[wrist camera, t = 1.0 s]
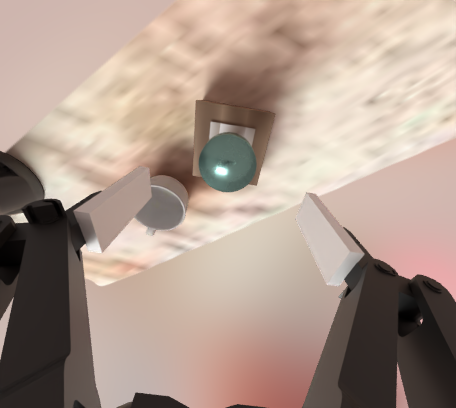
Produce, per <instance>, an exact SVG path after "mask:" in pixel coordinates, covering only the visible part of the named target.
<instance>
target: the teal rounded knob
mask: <svg viewBox="0 0 456 408" xmlns="http://www.w3.org/2000/svg"><path fill="white" fill-rule="evenodd" d="M256 167H257V162H256V156H255V153H254V150H253V148H252V146H251V144H250V143H249V142H248V140H247V139H245V138H244V137H243V136H241V135H239V134H237V133H233V132H223V133H220V134H217V135H215V136H213V137H212V138H211V139H210V140H209V141H208V142H207V143H206V145H205V146H204V148H203V149H202V151H201V153H200V156H199V171H200V174H201V176H202V178H203V179H204V181H205V182H206V183H207V184H208V185H209V186H210V187H212V188H214V189H216V190H218V191H222V192H234V191H238V190H240V189H242V188H244V187H245V186H247V185H248V184H249V183H250V182H251V180H252V179H253V177H254V175H255V172H256Z"/></svg>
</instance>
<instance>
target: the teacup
mask: <svg viewBox="0 0 456 408" xmlns="http://www.w3.org/2000/svg"><path fill="white" fill-rule="evenodd" d="M150 182H151V193H152V197H151V198H150V200H149V201H148V202H147V203H146V204H145V205H144V206H143V207H142V209H141V210H140V211H139V212H138V213H137V214H136V215H135V216H134V218H135V219H136V220H137V221H138V222H140V223H141V224H142V225H144V226H146V227H148V229H147V231H146V234H147V235H149V236H153V235H154V233H155V231H156V230H161V231H167V230H172V229H174V228H176V227H178V226H179V225H180V224H181V223H182V222H183V220H184V218H185V214H186V210H187V206H188V193H187V191H186V189H185V187H184V186H183V185H182V184H181V183H180V182H179V181H178V180H176V179H175V178H172V177H170V176H165V175H158V176H154V177H151V178H150Z"/></svg>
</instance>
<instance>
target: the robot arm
mask: <svg viewBox="0 0 456 408" xmlns="http://www.w3.org/2000/svg"><path fill="white" fill-rule="evenodd" d="M151 197H152V193H151V182H150V171H149V167H143V166H139V167H138V168H136V169H135V170H133V171H132V172H130V173H129V174H127V175H126V176H124V177H123V178H121V179H120V180H118V181H117V182H115V183H114V184H112V185H111V186H109V187H108V188H106V189H105V190H103V191H98V192H96V193H93V194H91V195H89V196H88V197H86V198H85V199H83V200H82V201H80V202H78V203H77V204H75V205H74V206H72V207H71V208H69V209H68V210H66V211H65V210H64V208H63V205H62V203H61V201H60V200H57V199H44V192H43V188H42V186H41V184H40V182H39V180H38V179H37V178H36V176H35V175H34V174H33V173H32V172H31V171H30V170H29V169H28V168H27V167H26V166H25V165H24V164H22V163H21V162H20V161H18V160H17V159H15V158H14V157H12V156H10V155H8V154H6V153H4V152H1V151H0V320H1V318H2V316H3V314H4V313H5V311H6V309H7V307H8V306H9V304H10V302H11V300H12V299H13V297H14V299H13V304H12V308H11V313H10V318H9V322H8V327H7V332H6V337H5V341H4V346H3V350H2V355H1V360H0V408H101V404H100V399H99V395H98V391H97V388H96V384H95V376H94V367H93V356H92V347H91V338H90V328H89V318H88V309H87V298H86V289H85V280H84V269H83V260H82V252H81V250H80V248H81V247H82V246H83V245H84V244H86V246H87V249H88V251H91V252H99V253H102V252H103V251H104V250H105V249H106V248H107V247H108V246H109V245H110V243H111V242H112V241H113V240H114V239H115V238H116V237H117V236H118V234H119V233H120V232H121V231H122V230H123V229H124V228H125V227H126V225H127V224H128V223H129V222H130V221H131V220H132V219H133V218H134V216H135V215H136V214H137V213H138V212H139V211H140V210H141V209H142V207H143V206H144V205H145V204H146V203H147V202H148V201H149V200H150V198H151ZM20 213H24V215H25V217H26V218H27V220H28V222H29V223H15V222H14V221H13V219H12V218H11V217H10V216H11V215H15V214H20ZM295 220H296V222H297V224H298V226H299V228H300V230H301V232H302V234H303V236H304V239H305V241H306V243H307V245H308V247H309V249H310V251H311V253H312V255H313V257H314V259H315V261H316V264H317V265H318V268H319V270H320V272H321V274H322V276H323V278H324V280H325V282H326V284H327V285H333V286H340V284H341V283H342V282H343V281H344V280H345V282H346V283H347V285H348V286H347V287H346V289H345V290H344V291H343V292H342V293H341V295H340V296H339V298H341V297H342V298H341V301H340V304H339V307H338V310H337V312H336V315H335V318H334V321H333V324H332V326H331V329H330V332H329V335H328V337H327V340H326V343H325V346H324V349H323V351H322V354H321V357H320V360H319V363H318V365H317V368H316V371H315V374H314V377H313V380H312V382H311V385H310V388H309V391H308V393H307V396H306V399H305V402H304V404H303V407H302V408H396V385H397V383H396V382H397V363H398V366H399V370H400V375H401V379H402V382H403V386H404V391H405V395H406V399H407V402H408V406H409V408H456V302H455V300H454V299H453V297H452V296H451V294H450V293H449V292H448V290H447V289H446V288H444V287H443V286H442V285H441V284H440V283H438V282H436V280H434V279H431V278H429V277H427V276H423V275H416V276H415V277H414V278H413V279H411V280H410V279H407V278H404V277H402V276H399V275H398V273H397V272H396V271H395V270H394V269H393V268H392V267H391V266H390V265H388V264H387V263H385V262H383V261H380V260H378V259H373V257H372V256H371V255H370V254H369V253H368V252H367V250H366V249H365V248H364V247H363V246H362V245H361V244H360V242H359V241H358V240H357V239H356V238H355V237H354V235H353V234H352V233H351V232H350V231H348V230H347V229H346V228H344V227H342V226H341V225H340V224H339V222H338V221H337V220H336V218H335V217H334V216H333V215H332V214H331V212H330V211H329V210H328V209H327V208H326V206H325V205H324V204H323V203H322V201H321V200H320V199H319V198H318V196H317V195H316V194H313V193H307V192H306V195H305V197H304V199H303V202H302V204H301V206H300V209H299V211H298V213H297V216H296V218H295ZM421 319H423V322H422V324H421V322H420V320H421ZM117 408H189V407H187V406H185V405H183V404H182V403H180V402H178V401H176V400H175V399H173V398H171V397H169V396H161V395H152V394H144V393H135V396H134V399H133V402H129V403H126V404H124V405H121V406H119V407H117ZM227 408H265V407H257V406H248V405H239V404H237V405H233V406H230V407H227Z"/></svg>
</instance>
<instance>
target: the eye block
mask: <svg viewBox="0 0 456 408" xmlns="http://www.w3.org/2000/svg"><path fill="white" fill-rule="evenodd" d="M274 117H275V114H274V113H271V112H268V111H263V110H257V109H251V108H245V107H239V106H234V105H228V104H222V103H216V102H211V101H205V100H196V110H195V132H194V153H193V175H192V176H198V177H202V176H201V174H200V171H199V156H200V153H201V151H202V149H203V148H204V146H205V145H206V143H207V142H208V141H209V140H210V139H211V138H212V137H213V136H215V135H217V134H220V133H223V132H233V133H237V134H239V135H241V136H243V137H244V138H245V139H247V140H248V142H249V143H250V144H251V146H252V148H253V150H254V153H255V156H256V162H257V167H256V172H255V175H254V177H253V179H252V180H251V182H250V183H249V184H250V185H256V186H257V183H258V179H259V175H260V171H261V167H262V163H263V160H264V156H265V152H266V148H267V144H268V140H269V136H270V132H271V129H272V125H273V121H274Z"/></svg>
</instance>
